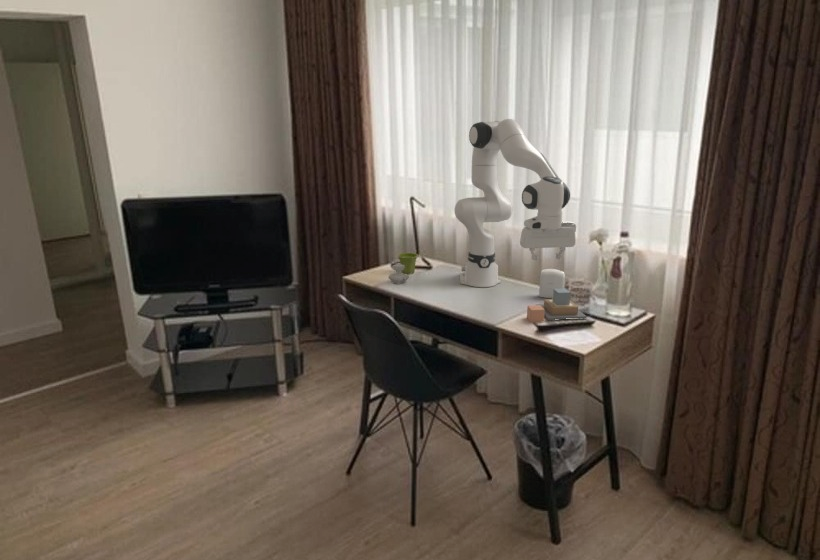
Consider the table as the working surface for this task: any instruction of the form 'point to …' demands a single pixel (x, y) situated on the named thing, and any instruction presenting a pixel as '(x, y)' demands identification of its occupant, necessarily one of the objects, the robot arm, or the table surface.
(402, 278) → the stamp
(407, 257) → the plant pot
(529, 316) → the terracotta cube
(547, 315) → the build plate
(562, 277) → the photo printer
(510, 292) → the table surface
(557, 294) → the grey cube
